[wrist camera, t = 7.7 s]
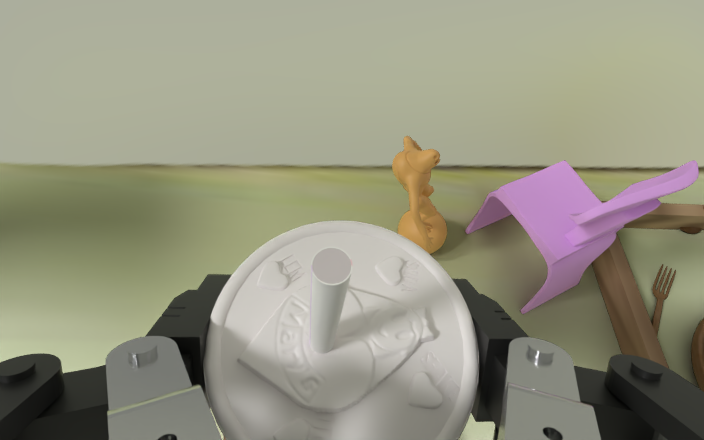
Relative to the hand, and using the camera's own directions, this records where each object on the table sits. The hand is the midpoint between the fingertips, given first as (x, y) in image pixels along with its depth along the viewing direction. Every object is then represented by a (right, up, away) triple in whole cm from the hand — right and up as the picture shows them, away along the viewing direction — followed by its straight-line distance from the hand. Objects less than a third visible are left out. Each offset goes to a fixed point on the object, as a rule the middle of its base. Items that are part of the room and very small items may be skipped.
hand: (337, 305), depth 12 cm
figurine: (+5, +1, +22) cm, 23 cm away
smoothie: (-1, -5, +5) cm, 7 cm away
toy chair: (+15, -1, +23) cm, 27 cm away
